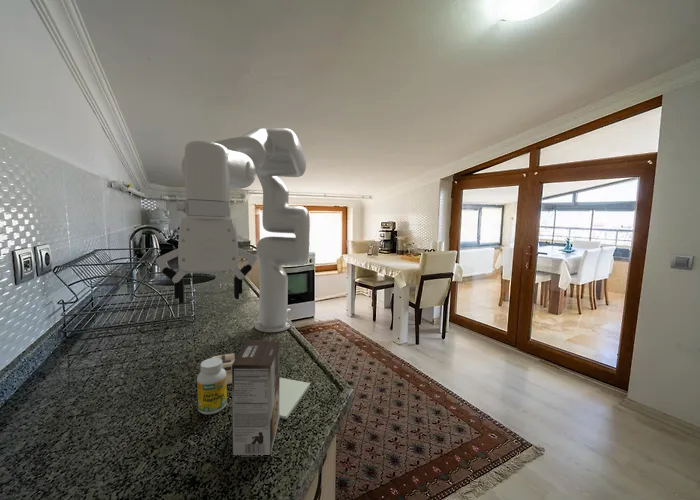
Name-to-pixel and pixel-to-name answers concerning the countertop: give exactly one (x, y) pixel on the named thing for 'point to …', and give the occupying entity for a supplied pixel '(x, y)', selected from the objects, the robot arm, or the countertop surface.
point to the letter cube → (227, 365)
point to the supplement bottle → (211, 386)
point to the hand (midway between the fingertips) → (210, 299)
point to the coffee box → (256, 397)
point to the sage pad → (290, 395)
